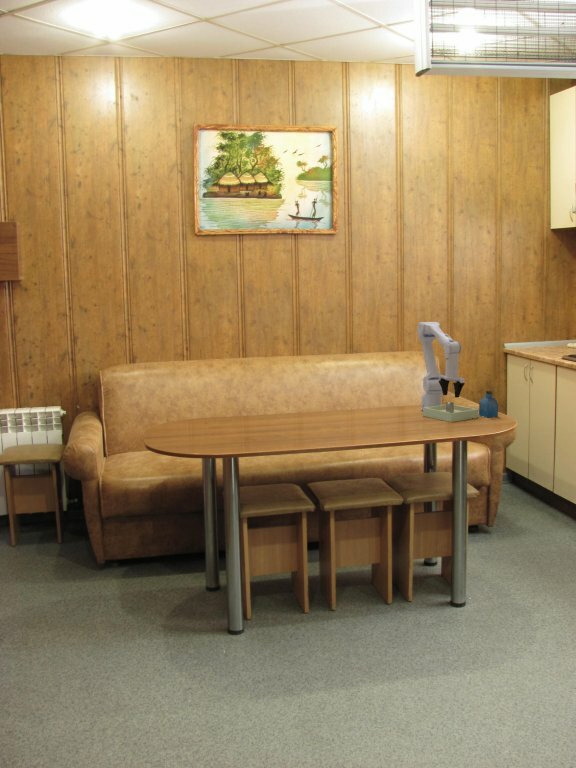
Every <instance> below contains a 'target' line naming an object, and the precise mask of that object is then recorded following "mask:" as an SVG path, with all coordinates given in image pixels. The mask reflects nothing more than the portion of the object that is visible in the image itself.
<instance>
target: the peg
mask: <svg viewBox="0 0 576 768" xmlns="http://www.w3.org/2000/svg"><path fill="white" fill-rule="evenodd" d="M445 403H446V404H445V405H446V412H449V413H454V405H455V402H454V401H446V402H445Z"/></svg>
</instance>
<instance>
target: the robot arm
mask: <svg viewBox="0 0 576 768" xmlns="http://www.w3.org/2000/svg"><path fill="white" fill-rule="evenodd" d="M416 330H417V336H418V340H419V341H420V343H421V348H422V353H423V359H424V363H425V369H426V375H425V376H424V377H423V378H422V381H423V382H422V383H423V384H422V388H423V391H424V392H423V393H422V394H421V395H422V396H421V408H420V409H419V410H421V411H423V408H425V407H432V406H439V405H442V397H443V396H448V394H449V393H448V392H449V386H450V385H449V384H450V382H452V384H453V385H452V386H453V387H454V398H456V399H457V398H459V397H460V396H461V392H462V389H463V387H464V385H465V380H466V379H465V378H463V377H460V376H459V354H460V353H461V352H462V345H461V342H460V341H459V340H458V341H455V340H454V339H452V337H451V335H449V334H448V333H444V331H443V330H442V329H441V324H440V323H439V322H438V321H425V322H424V321H420V322H419V323H418V324H417V329H416ZM436 339H437V341H438V343H439V345H440V346H441V347H442V348H443V352H444V358H445V375H444V374H441V373H439V372H438V367H437V362H436V357H435V355H436V354H435V351H434V347H433V342H434V341H435V340H436Z"/></svg>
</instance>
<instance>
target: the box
mask: <svg viewBox="0 0 576 768" xmlns="http://www.w3.org/2000/svg"><path fill="white" fill-rule="evenodd" d="M422 411H423V413H422V417H425V416H426V417H425V418H431V419H435V420H440V421H444V422H447V423H448V422H449V423H453V422H459V421H461V422H462V421H465V420H466V421H467V420H472V418H473V419H478V418H479V408H474V407H468V406H463V405H458V404H454V413H449V412H446V404H441V405H439V406H432V407H425V408H423V410H422ZM477 417H478V418H477Z"/></svg>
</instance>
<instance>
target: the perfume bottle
mask: <svg viewBox="0 0 576 768" xmlns="http://www.w3.org/2000/svg"><path fill="white" fill-rule="evenodd" d="M493 394H494V393H493V391H492V390H485V394H484V395H485V397H482V399H481V400H480V401H479V403H478V404H479V407H478V416H479V415H480V416H479V417H482V416H484V417H483V418H486V417H487V419H488V418H489V419H491V418H499V403H498V401H497V399H496V398H494V397H493V396H494V395H493Z"/></svg>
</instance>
